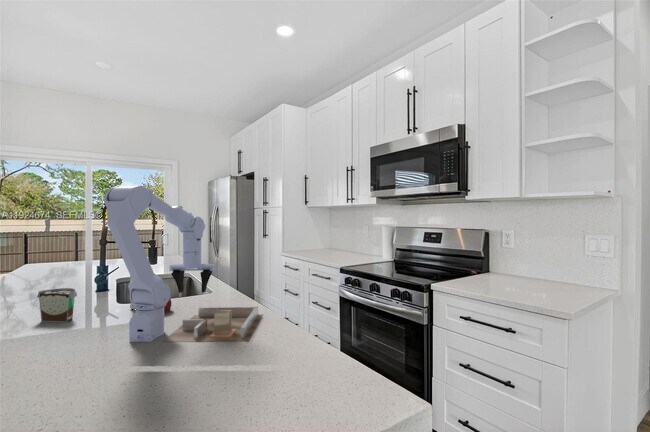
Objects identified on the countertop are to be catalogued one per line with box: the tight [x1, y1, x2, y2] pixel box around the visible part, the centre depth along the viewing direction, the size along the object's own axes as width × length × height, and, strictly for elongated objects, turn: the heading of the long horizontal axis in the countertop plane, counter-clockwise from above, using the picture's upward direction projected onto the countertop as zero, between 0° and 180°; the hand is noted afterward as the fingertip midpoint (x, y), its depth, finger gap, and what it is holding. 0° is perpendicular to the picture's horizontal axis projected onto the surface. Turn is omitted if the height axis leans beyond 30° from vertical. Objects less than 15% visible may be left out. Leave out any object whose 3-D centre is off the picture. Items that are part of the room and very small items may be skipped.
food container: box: [36, 287, 78, 323], centre depth 113 cm, size 12×6×10 cm, turn 84°
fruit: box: [164, 298, 172, 315], centre depth 117 cm, size 8×8×8 cm
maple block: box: [214, 310, 232, 335], centre depth 96 cm, size 4×4×6 cm
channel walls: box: [182, 306, 259, 339], centre depth 102 cm, size 21×20×3 cm
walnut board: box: [161, 314, 264, 343], centre depth 102 cm, size 24×24×1 cm
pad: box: [210, 329, 236, 337], centre depth 96 cm, size 6×6×1 cm
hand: (192, 292), depth 111 cm, fingers open, 7 cm apart
